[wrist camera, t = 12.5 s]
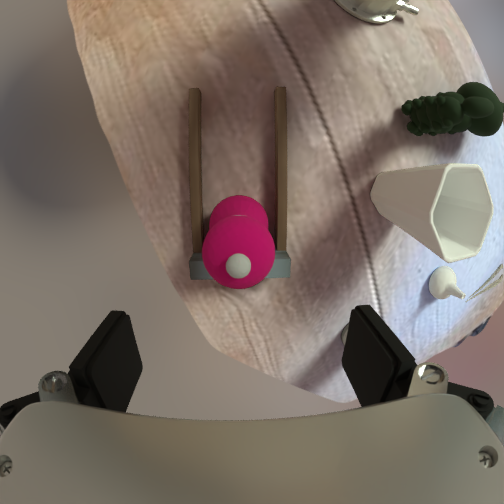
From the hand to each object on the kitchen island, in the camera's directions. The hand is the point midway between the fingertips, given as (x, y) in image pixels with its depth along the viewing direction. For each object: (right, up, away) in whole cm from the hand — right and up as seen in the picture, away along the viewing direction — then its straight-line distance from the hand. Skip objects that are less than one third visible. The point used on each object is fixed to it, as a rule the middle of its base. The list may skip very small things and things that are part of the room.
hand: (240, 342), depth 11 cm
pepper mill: (-1, +8, +27) cm, 29 cm away
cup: (+22, +13, +27) cm, 37 cm away
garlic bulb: (+36, -2, +32) cm, 48 cm away
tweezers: (+52, -4, +34) cm, 63 cm away
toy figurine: (+32, +27, +23) cm, 48 cm away
